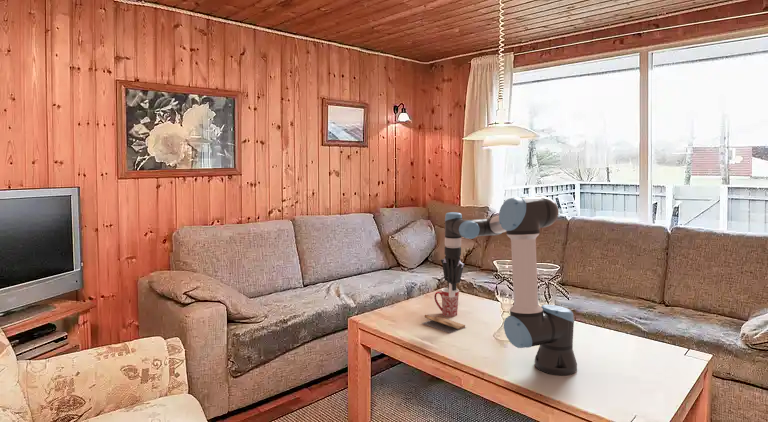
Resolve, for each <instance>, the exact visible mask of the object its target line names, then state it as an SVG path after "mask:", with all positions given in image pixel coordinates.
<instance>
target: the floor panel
mask: <svg viewBox="0 0 768 422" xmlns="http://www.w3.org/2000/svg"><path fill="white" fill-rule="evenodd" d="M433 317H434V316H433ZM434 318H437V319H440V320H443V321H446V322H449V323H452V324H454V325H456V326H459V327H460V328H459V329H456V328H453V327H450V326H447V325H444V324H441V323H438V322H435V321H432V320H428V321H425V322H422V323H421V324H422V325H425V326H428V327H431V328H434V329H436V330H439V331H442V332H445V333H448V334H452V333H456V332H458V331H461V330H464V329H467V327H466V324H463V323H460V322H456V321H453V320H452V319H451V320H450V319H448V318H444V317H441V316H439V315H438V316H435V317H434Z"/></svg>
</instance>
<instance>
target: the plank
mask: <svg viewBox="0 0 768 422" xmlns="http://www.w3.org/2000/svg"><path fill="white" fill-rule="evenodd" d="M424 318H426V319H427V320H429V321H431V320H432V321H435V322H438V323H441V324H444V325H447V326H450V327H453V328H456V329H459V328H460V327H459V326H456V325H454V324H452V323H449V322H446V321H443V320H440V319H437V318H434V316H430V315H427V314H425V315H424Z"/></svg>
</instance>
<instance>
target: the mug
mask: <svg viewBox="0 0 768 422" xmlns="http://www.w3.org/2000/svg"><path fill="white" fill-rule="evenodd" d="M438 294H439V295H440V297H441V305H440V304H439V301H438V299H437V295H438ZM459 294H460V289H458V288H456V290H455V297H452V298H450V297H449V289H448V287H443V288H441V289H440V291H437V292H435V293H434V295H433V296H434V302H435V304H436V305H437V307H438V308H439V310H440V311H441V313H442V315H443V316H444V317H447V318H452V317H453V318H454V317H456V316H458V311H459V310H458V308H459V307H458V306H459V296H460V295H459Z"/></svg>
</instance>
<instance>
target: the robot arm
mask: <svg viewBox="0 0 768 422" xmlns="http://www.w3.org/2000/svg"><path fill="white" fill-rule="evenodd" d="M498 211H499V212H498V215H496V216H493V217H487V218H478V219H477V218H475V219H474V218H473V219H463V214H462V213H461V212H455V211H450V212H446V213H445V216H444V258H443V259H440V262H441V265H442V272H443V276H444V277H443V278H444V281H445V282H447V288H448V289H449V297H450V298H452V297H455V290H456V289H457V284H459V283H460V282H461V278H462V275H463V270H464V268H465V266H466V265H465V262H464V263H463V262H462V259H461V255H462V247H461V246H462V238H464V239H469V240H471V239H475V238H476V237H484V236H486V237H487V236H498V235H501V234H502V233H506V234H505V235H506V236H507V237H508V238H509V239H510V244H511V245H510V247H511V267H512V268H511V269H512V271H511V272H512V288H513V289H512V292H513V305H512V306H511V307H510V308H509V315H508V316H507V317H506V318H505V319H504V320H503V321H504V322H503V331H504V334H505V337H506V339H508V341H509V343H510V344H511V345H512V346H514V347H515V348H518V349H525V348H526V349H527V348H531V347H535V346H538V349H537V351H536V354H535V356H534V357H535V358H534V367H535V368H536V369H537V370H538V371H541V372H543V373H545V374H549V375H555V376H568V375H572V374H575V373H576V372H578V371H577V370H578V363H577V359H576V356H575V353H574V348H573V347H574V345H573V344H574V342H573V341H574V323H575V320H574V312H573V311H572V310H571V309H570V308H567V307H565V306H561V305H556V304H542V305H541V306H540V305H539V290H538V289H539V288H538V266H537V244H536V243H537V237H539V235H540V233H541V232H540V231H541V230H540V229H542V228H547V227H548V228H549V227H550V226H552V225H553V224H554V223H556V222H557V220H558V217H559V213H560V212H559V207H558V205H557V203H556V201H554V200H553V199H551V198H550V197H547V196H543V195H539V196H517V197H511V198H508V199H506V200H505V201H504V202H503V204H501V206H500V208H499V210H498Z"/></svg>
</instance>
